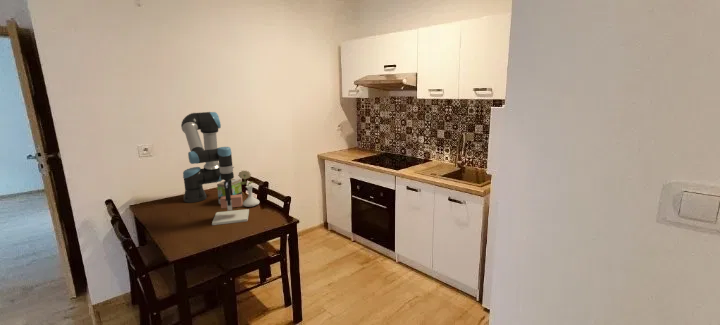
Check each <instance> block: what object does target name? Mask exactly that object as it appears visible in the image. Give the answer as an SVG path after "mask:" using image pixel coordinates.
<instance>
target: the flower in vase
mask: <svg viewBox="0 0 720 325" xmlns="http://www.w3.org/2000/svg"><path fill="white" fill-rule="evenodd" d="M238 177H239V179H241V180H242V179H243V180H247V179H250V178H251V172H250V171H249V170H245V169H244V170H241V171H240V172H239V173H238ZM253 182H254V181H253V180H252V181H250V182H248V183H247V182H246V181H241V183H240V184H241V185H243V186H244V185H246V186H245V188H246V189H247V193H248V197H246V199H245V200H243V204H242V206H243V207H246V208H247V207H249V208H251V207H255V206H257V205H259V204H260V200H259V199H258V198H256V197H254V196H253V187H254V185H252V183H253Z"/></svg>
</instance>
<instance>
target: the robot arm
mask: <svg viewBox="0 0 720 325" xmlns="http://www.w3.org/2000/svg"><path fill="white" fill-rule="evenodd" d="M221 126H222V124H221V119H220V116H219V114H218V113H217V112H216V111H207V112H191V113H188V115H186V116H184V118H183V119H182V121H181V130H182V132H183V133H184V135H185V138H186V141H187V144H188V147H189V151H188V153H187V154H188V156H187V158H188V162H189V163H190V164H191V165H193V164H194V165H195V164H203V163H204V165H203V168H202V167H200V166H195V167H190V168H187V169H185V170H183V172H182V178H183V183H184V195H183V202H184V203H198V202H203V201H205V200H206V199H207V198H208V197H207V194H206V192H205V190H204V186H203V185H208V184H216V183H217V184H218V183H221V182H223V181H225V182H224V187H225V195H226V200H225V201H227V208H226V209H227V211H233V207H232V201H231V195H232V194H233V193H232V184H231V183H232V181H231V179H235V176H234V175H235V174H234V168H235V166H233V157H232V148H231V147H230V146H220V147H218V140H217V139H218V138H217V133H218V132H219V129H221ZM199 132H200V133H201V134H202V136H203V138H202V139H203V143H202V140H201V137H200V134H199Z"/></svg>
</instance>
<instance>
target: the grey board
mask: <svg viewBox="0 0 720 325" xmlns="http://www.w3.org/2000/svg"><path fill="white" fill-rule="evenodd" d="M249 214H250V209H249V208H248V209H247V208H246V209H238V210H237V209H236V210H235V209H234V210H229V211H228V210H227V211H217V212H215V215H214V217H213V220H212V221H211V222H212V223H211V225H212V226H218V225H227V224H228V225H229V224H237V223H244V222H248V220H249Z"/></svg>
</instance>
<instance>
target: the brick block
mask: <svg viewBox="0 0 720 325" xmlns="http://www.w3.org/2000/svg"><path fill="white" fill-rule="evenodd" d="M225 200H226V196H221V198H220V202H221V204H220V209H227V201H225ZM231 201H232V208H237V207H243V202H244V200H243V193H242V194H239V195H231Z"/></svg>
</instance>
